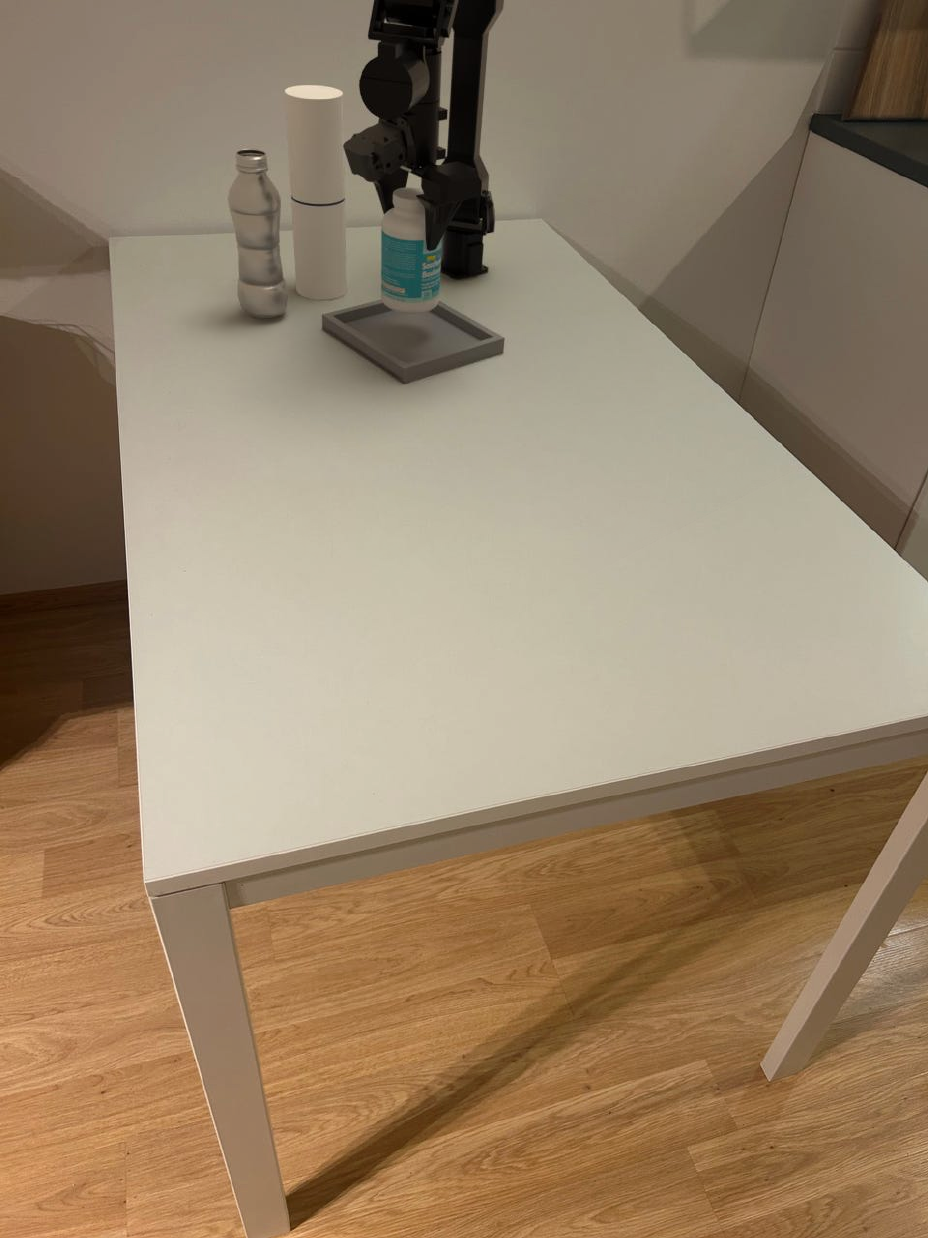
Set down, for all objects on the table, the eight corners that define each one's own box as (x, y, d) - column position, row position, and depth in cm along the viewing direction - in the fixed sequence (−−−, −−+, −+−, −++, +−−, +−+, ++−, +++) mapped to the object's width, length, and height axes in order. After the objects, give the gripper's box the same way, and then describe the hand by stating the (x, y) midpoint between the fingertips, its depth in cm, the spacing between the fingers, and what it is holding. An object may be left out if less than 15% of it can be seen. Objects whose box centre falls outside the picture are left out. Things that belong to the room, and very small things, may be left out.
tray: (322, 329, 123) (321, 314, 121) (419, 303, 131) (419, 289, 129) (404, 383, 113) (404, 368, 111) (503, 352, 121) (504, 337, 119)
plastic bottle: (267, 328, 122) (254, 164, 108) (228, 314, 124) (211, 152, 111) (299, 313, 126) (290, 153, 113) (261, 299, 128) (248, 141, 115)
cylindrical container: (306, 302, 129) (296, 100, 112) (289, 283, 133) (276, 86, 117) (354, 295, 131) (351, 97, 115) (336, 277, 136) (330, 83, 119)
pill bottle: (431, 319, 116) (435, 207, 107) (374, 311, 117) (373, 199, 108) (444, 296, 122) (449, 187, 112) (389, 288, 122) (390, 179, 113)
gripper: (306, 85, 104) (313, 227, 115) (408, 128, 94) (405, 280, 105) (386, 75, 110) (386, 211, 121) (490, 114, 100) (480, 259, 110)
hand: (411, 239), depth 114 cm, fingers closed on pill bottle, 7 cm apart
